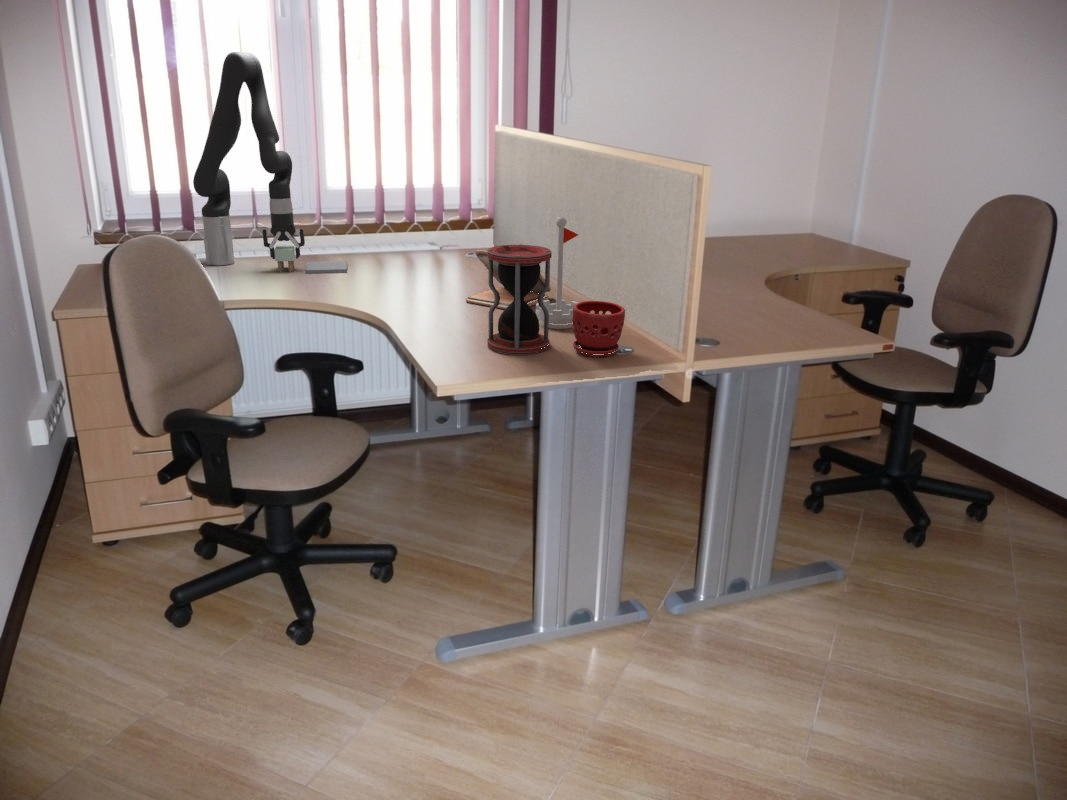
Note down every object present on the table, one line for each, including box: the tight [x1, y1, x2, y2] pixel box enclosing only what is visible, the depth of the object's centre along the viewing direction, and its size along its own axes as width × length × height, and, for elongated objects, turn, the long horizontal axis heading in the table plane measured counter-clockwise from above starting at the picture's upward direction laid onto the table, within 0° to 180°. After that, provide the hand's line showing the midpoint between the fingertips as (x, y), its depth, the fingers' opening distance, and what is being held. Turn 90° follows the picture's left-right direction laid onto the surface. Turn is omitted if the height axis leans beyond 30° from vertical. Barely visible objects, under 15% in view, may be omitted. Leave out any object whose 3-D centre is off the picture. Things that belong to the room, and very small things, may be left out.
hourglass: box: [486, 243, 553, 356], centre depth 218 cm, size 16×16×25 cm
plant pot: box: [572, 300, 626, 358], centre depth 217 cm, size 13×13×12 cm
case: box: [465, 249, 552, 310], centre depth 265 cm, size 20×21×16 cm
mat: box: [304, 260, 348, 275], centre depth 306 cm, size 14×14×1 cm
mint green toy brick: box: [274, 244, 296, 273], centre depth 302 cm, size 6×9×8 cm, turn 11°
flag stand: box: [535, 216, 579, 330], centre depth 238 cm, size 13×13×30 cm
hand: (285, 258), depth 302 cm, fingers open, 7 cm apart
